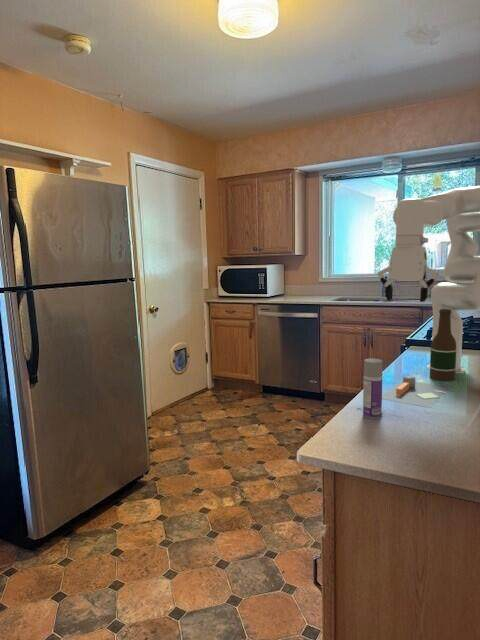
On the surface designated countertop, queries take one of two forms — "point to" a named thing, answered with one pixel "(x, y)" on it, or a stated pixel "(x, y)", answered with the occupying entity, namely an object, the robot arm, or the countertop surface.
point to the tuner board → (417, 394)
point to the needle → (406, 385)
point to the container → (372, 388)
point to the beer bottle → (443, 350)
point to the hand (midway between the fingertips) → (405, 300)
